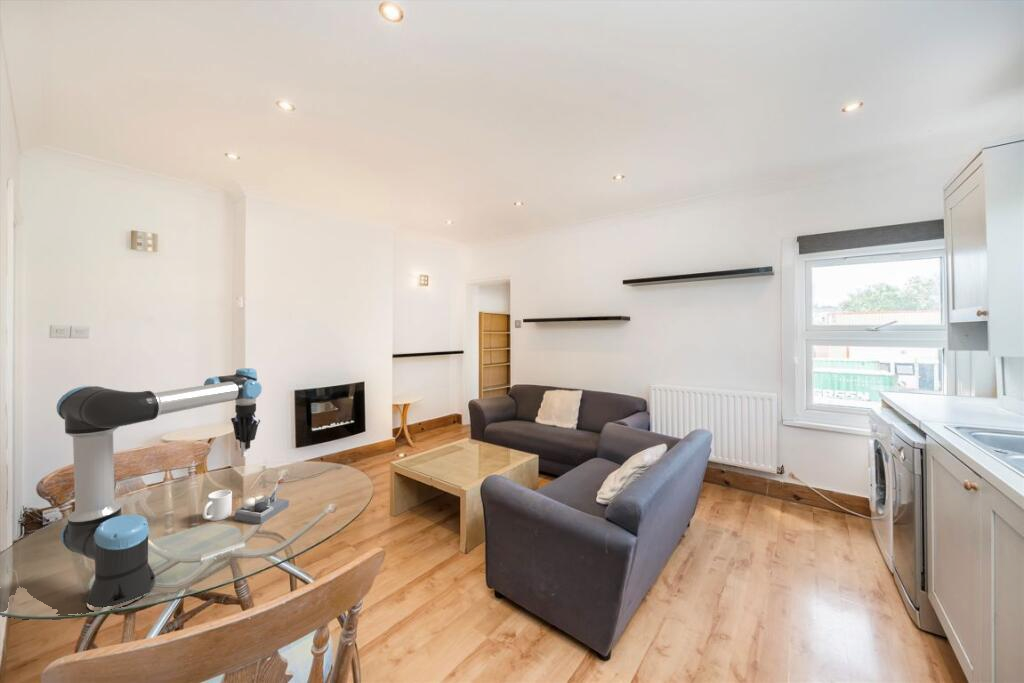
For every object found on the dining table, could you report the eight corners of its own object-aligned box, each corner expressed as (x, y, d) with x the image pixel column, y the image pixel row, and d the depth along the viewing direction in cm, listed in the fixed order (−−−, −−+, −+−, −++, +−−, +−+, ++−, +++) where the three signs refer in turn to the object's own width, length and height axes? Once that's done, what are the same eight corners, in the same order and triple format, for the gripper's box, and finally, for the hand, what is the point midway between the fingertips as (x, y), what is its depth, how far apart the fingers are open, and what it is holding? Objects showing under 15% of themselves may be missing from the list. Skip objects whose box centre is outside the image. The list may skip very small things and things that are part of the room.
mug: (210, 527, 157) (211, 503, 156) (194, 524, 158) (194, 500, 158) (236, 513, 169) (236, 490, 168) (220, 510, 170) (220, 488, 170)
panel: (260, 524, 162) (261, 510, 161) (234, 519, 164) (235, 506, 163) (288, 506, 177) (289, 494, 177) (264, 502, 180) (265, 490, 179)
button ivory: (248, 509, 164) (249, 502, 164) (240, 508, 165) (240, 501, 164) (257, 504, 168) (257, 498, 168) (248, 503, 169) (248, 496, 169)
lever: (269, 503, 173) (281, 481, 171) (266, 501, 173) (278, 480, 171) (272, 501, 175) (284, 480, 173) (270, 500, 175) (281, 478, 173)
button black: (260, 514, 163) (260, 507, 163) (252, 512, 164) (252, 505, 163) (269, 509, 167) (269, 502, 167) (260, 507, 168) (260, 501, 168)
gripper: (265, 403, 169) (264, 454, 170) (240, 400, 171) (239, 451, 173) (251, 406, 162) (250, 460, 163) (225, 403, 164) (224, 456, 165)
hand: (244, 455), depth 168 cm, fingers closed
